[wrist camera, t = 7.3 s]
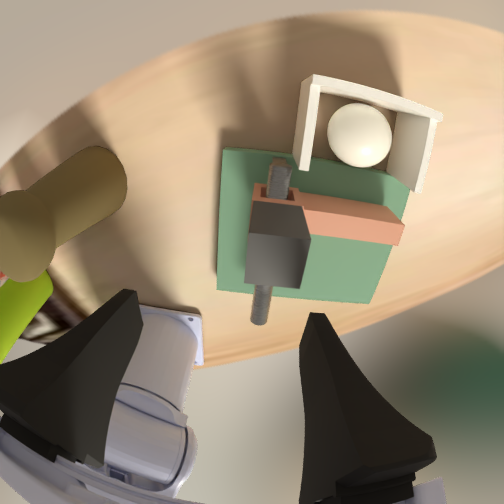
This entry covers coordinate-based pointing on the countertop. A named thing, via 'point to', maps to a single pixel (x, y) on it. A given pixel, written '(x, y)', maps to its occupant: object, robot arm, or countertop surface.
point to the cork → (58, 210)
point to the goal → (408, 112)
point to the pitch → (322, 247)
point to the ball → (359, 135)
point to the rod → (276, 190)
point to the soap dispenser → (20, 307)
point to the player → (307, 231)
